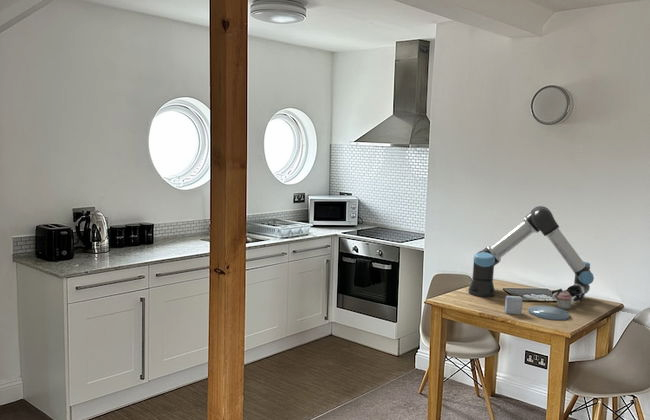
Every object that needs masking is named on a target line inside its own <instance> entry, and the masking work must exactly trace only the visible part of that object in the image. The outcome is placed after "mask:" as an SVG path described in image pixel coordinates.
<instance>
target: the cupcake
mask: <svg viewBox="0 0 650 420" xmlns="http://www.w3.org/2000/svg"><path fill="white" fill-rule="evenodd" d="M564 290H565V291H564ZM564 290H563V292H561V293H559V295H558V296H557V298H555V300H556V303H557V308H560V309H563V310H570V309H571V307H572V305H573V303H571V298H572V296H571V295H570V293H569V292H568V291H566V290H567V289H564Z"/></svg>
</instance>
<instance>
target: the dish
mask: <svg viewBox="0 0 650 420" xmlns="http://www.w3.org/2000/svg"><path fill="white" fill-rule="evenodd" d="M528 313H529V314H530V315H532V316H534V317H537V318H540V319H545V320H551V321H564V320H568V319H569V318H570V313H569V311H567V310H566V309H561V308H559V307H555V306H549V305H533V306H530V307H528Z"/></svg>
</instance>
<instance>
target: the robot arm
mask: <svg viewBox="0 0 650 420" xmlns="http://www.w3.org/2000/svg"><path fill="white" fill-rule="evenodd" d="M539 232H541V233H542V235H543V236H544V237H547V238H548V240H549V241H550V242H551V244H552V245H553V246H554V248H555V249H556V251H557V252H558V253H559V255H560V256H561V257H562V258H563V260H564V261H565V262H566V264H567V265H568V266H569V269H571V271H572V272H573V273H574V279H573V280H574V281H573V282H574V283H573V284H571V285H570V286H568V288H567V289H562V288H559V289H554V290H552V291H551V300H556V298H557V296H558V295H559V293H561V292H563V291H565V290H566V291H568V292H569V293H570V295H571V296H572V298H571V303H572V304H573V303H575V302H581V303H582V302H583V299H585V295H586V294H587V293H588V292H589V291H590V290H591V289H590V287H591V286H590V284H592V283H594V279H595V278H594V277H595V276H594V274H593V273H592V272H591V270H590V269H591V264H590V262H588V261H583V259H582V257H580V255H579V253H578V252H576V250H575V249H574V247H573V245H571V243H570V242H569V241H568V239H567V238H566V236H565V235H564V234H563V233H562V231H561V230H560V226H559V224H558V222H557V221H556V219H555V217H554V214H553V213H552V212H551V210H550V209H549V208H548V207H546V206H544V205H543V206H542V205H541V206H540V205H539V206H536V207H535V206H534V207H533V209H532V210H531V211H530V212H529V213H528V214H526V216H524V217H523V221H522V222H521V223H520V224H518V225H517V226H515V228H513V229H512V230H511V231H509V232H508V233H507V234H505V235H504V236H503V237H502V238H500V239H499V240H498V241H497V242H496V243H494V244H492V245H491V246H489V245H488V246H486V247H485V248H483V249H482V250H479V251H478V252H476V253H475V254H474V257H473V267H472V278H471V279H472V280H471V282H470V285H469V287H468V294H469V295H471V296H476V297H482V298H485V297H487V298H491V297H495V296H496V289H495V286H494V271H495V266H496V265H498V264H499V263H500V262H501V258H503V257H505V256H506V255H507V253H510V251H511V250H513V249H514V248H515V247H516V246H518V245H519V244H520V243H522V242H523V241H525V240H526V239H527V238H528V237H530V236H531V235H532V234H534V233H539Z"/></svg>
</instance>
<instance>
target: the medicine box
mask: <svg viewBox="0 0 650 420" xmlns="http://www.w3.org/2000/svg"><path fill="white" fill-rule="evenodd" d="M504 303H505V304H504V313H505V314H509V315H510V314H511V315H522V310H523V298H522V296H520V295H519V296H517V295H505V302H504Z"/></svg>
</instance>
